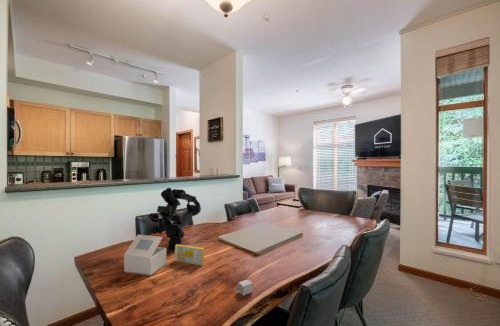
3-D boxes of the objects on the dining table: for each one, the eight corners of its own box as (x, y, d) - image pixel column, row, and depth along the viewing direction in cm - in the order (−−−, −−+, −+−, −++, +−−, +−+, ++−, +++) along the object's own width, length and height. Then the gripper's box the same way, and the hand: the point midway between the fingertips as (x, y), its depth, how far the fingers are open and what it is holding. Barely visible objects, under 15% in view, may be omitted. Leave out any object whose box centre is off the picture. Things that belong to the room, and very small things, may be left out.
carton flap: (138, 235, 114) (137, 234, 114) (162, 237, 111) (162, 236, 111) (124, 255, 106) (124, 254, 105) (150, 258, 102) (150, 257, 102)
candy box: (204, 264, 115) (204, 248, 115) (202, 266, 113) (202, 249, 112) (177, 259, 120) (177, 243, 120) (174, 261, 118) (174, 245, 118)
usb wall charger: (252, 293, 91) (252, 283, 91) (237, 299, 87) (237, 288, 87) (246, 288, 94) (246, 278, 94) (232, 293, 90) (232, 283, 90)
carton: (142, 260, 117) (142, 245, 117) (166, 264, 114) (166, 248, 114) (124, 272, 106) (124, 255, 106) (150, 276, 103) (150, 258, 102)
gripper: (150, 198, 127) (136, 224, 116) (180, 200, 122) (169, 227, 112) (159, 209, 135) (146, 234, 124) (188, 211, 130) (177, 237, 120)
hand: (159, 233), depth 120 cm, fingers closed
